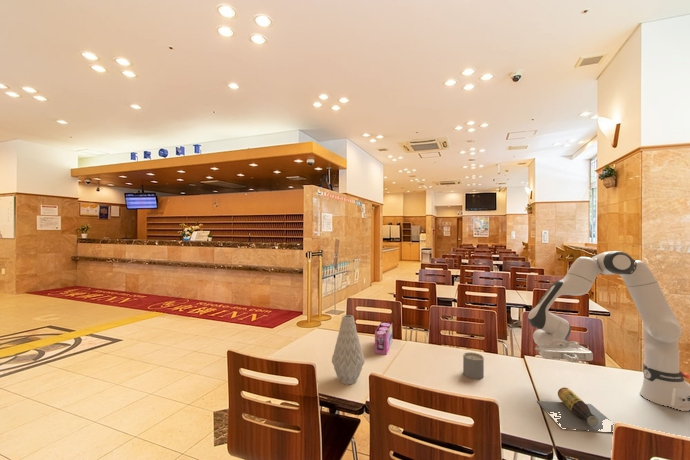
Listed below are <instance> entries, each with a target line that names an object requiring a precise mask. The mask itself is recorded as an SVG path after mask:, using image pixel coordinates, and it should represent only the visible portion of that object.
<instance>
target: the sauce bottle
mask: <svg viewBox="0 0 690 460" xmlns="http://www.w3.org/2000/svg"><path fill="white" fill-rule="evenodd" d="M557 397H558V398H559V400H560V402H563V403H564V404H565V405H566V406H567V407H568V408H569V409H570V410H571V411H572V412H573V413H574V414H575V415H576V416H577V417H580V418H583V419H584V420H585V421H586V422H587V423H588V424H589V425H590V426H596V425H597V424H598V419H597V417H596V416H595V415H593V414H592V413H591V412H590V409H589V408H588V406H587V405H586V404H587V403H585V402H584V401H583V400H582V399H581V398H580V397H579V396H578V395H577V394H575V392H573V391H572V390H571V389H570V388H569V387H561V388H559V389H558V391H557Z"/></svg>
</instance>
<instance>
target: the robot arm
mask: <svg viewBox="0 0 690 460" xmlns="http://www.w3.org/2000/svg"><path fill="white" fill-rule="evenodd" d="M599 275H603V276H604V275H605V276H614V275H615V276H616V275H618V276H619V277H621V278H622V280H623V282H624V284H625V286H626V288H627V291H628V292H629V296H630V297H631V299H632V301H633V303H634V306H635V308H636V310H637V312H638V314H639V317H640V318H641V321H642V323H643V327H642V328H643V341H644V342H643V345H644V346H643V347H644V363H643V365H642V368H643V369H642V373H643V381H642V385H641V388H640V391H639V395H640V394H641V395H642V396H643V397H642V396H641V395H640V396H641V397H642V398H644V399H646V400H647V399H648V400H647V401H649V400H650V402H652V403H654V404H657V405H660V406H663V405H664V407H667V406H669V407H668V408H670V407H672V408H671V409H673V408H675V409H674V410H676V409H678V410H677V411H679V410H681V411H680V412H690V411H689V410H690V383H689V382H688V381H686V380H685V379H689V380H690V373H687V372H682V371H680V350H679V339H680V338H681V336H682V335H683V329H682V326H681V324H680V322H679V320H678V319H677V317H676V315H675V313H674V311H673V309H672V307H671V306H670V303H669V302H668V300H667V298H666V296H665V294H664V292H663V290H662V288H661V287H660V284H659V282H658V280H657V278H656V276H655V274H654V272H653V271H652V270H651V269H650V267H649V266H648V264H646V263H645V261H642V260H640V259H639V260H638V259H634V258H632V256H630V255H629V254H628V253H626V252H624V251H619V250H612V251H603V252H600V253H597V254H594V255H593V256H591V257H588V256H579V257H578V258H576V259H575V260H574V261H573V262H572V264H571V265H570V267H569V269H568V271H567V273H566V274H565V276H564V277H563V278H562V279H560V280H556V281H554V282H553V283H552V284H551V285H550V286H549V288H548V289H547V290H546V292H544V294H543V296H542V297H541V298H540V299H539V301H538V302H537V303H536V304H535V306H533V307H532V308H531V309H530V310H529V312H528V314H527V320H528V322H529V324H530V326H531V327H534V328H536V330H535V331H534V332H533V334H532V337H533V341H534V342H535V344H536V345H537V346H536V347H535V348H534V349H535V351H537V352H538V354H539V355H540V356H541V358H543V359H545V360H566V361H569V362H570V363H580V361H584V362H585V361H589V362H591V361H593V359H594V353H593V352H592V351H591V350H590V349H588V348H587V347H585V346H582V345H580V344H579V342H577V341H572V340H567V339H568V338H569V337H570V335H571V333H572V328H571V327H572V326H571V325H570V322H569V321H568V320H567V319H565V318H563V317H561V316H559V315H557V314H554V313H553V312H551V311H549V309H550V308H551V306H553V304H554V303H555V301H557V298H558V297H560V296H573V297H574V296H576V297H577V296H584V295H586V294H588V293H589V291H591V289H592V287H593V284H594V282H595V281H596V278H597V277H598V276H599ZM684 378H685V379H684Z"/></svg>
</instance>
